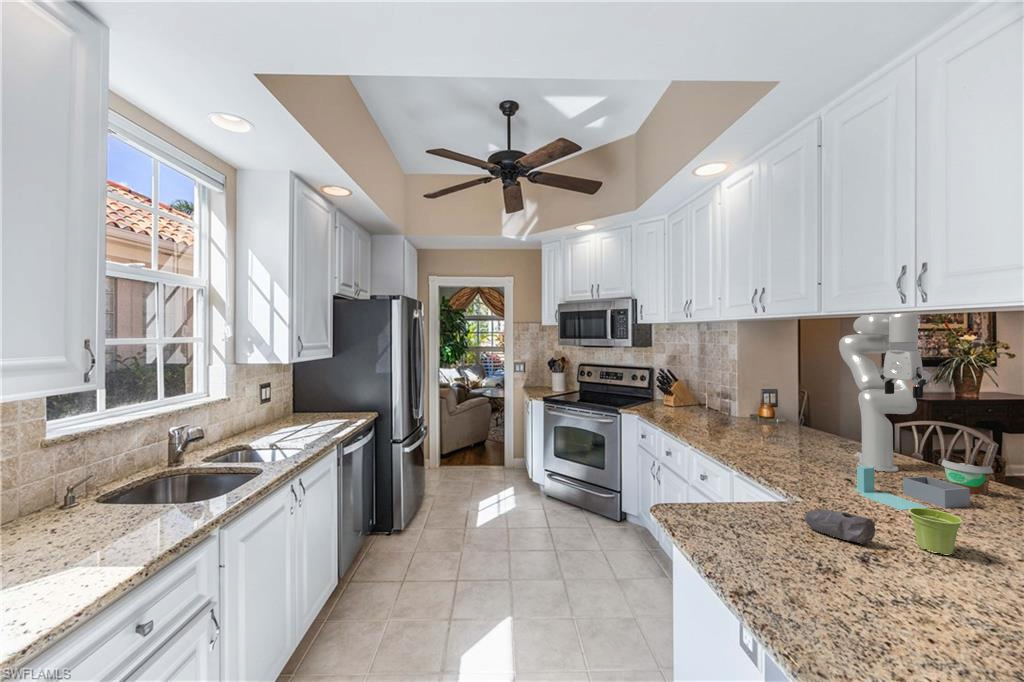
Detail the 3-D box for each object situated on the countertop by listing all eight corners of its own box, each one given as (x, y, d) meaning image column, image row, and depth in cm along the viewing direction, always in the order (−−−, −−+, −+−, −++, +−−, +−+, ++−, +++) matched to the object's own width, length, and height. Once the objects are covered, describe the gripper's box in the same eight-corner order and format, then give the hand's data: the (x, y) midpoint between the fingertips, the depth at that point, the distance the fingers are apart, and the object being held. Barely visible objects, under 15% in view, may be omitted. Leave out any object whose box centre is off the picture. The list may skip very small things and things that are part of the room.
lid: (847, 492, 145) (846, 466, 145) (872, 490, 146) (872, 464, 146) (900, 512, 128) (900, 483, 128) (928, 510, 129) (928, 481, 129)
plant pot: (922, 538, 111) (921, 505, 111) (971, 555, 102) (971, 519, 102) (900, 545, 107) (899, 510, 107) (949, 563, 98) (949, 525, 98)
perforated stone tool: (801, 530, 116) (800, 504, 116) (808, 525, 120) (808, 500, 120) (870, 551, 104) (870, 523, 104) (877, 545, 108) (876, 517, 108)
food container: (934, 488, 147) (934, 459, 147) (943, 485, 150) (942, 457, 150) (985, 500, 136) (985, 469, 136) (993, 497, 139) (993, 466, 139)
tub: (903, 495, 141) (902, 477, 141) (926, 494, 142) (925, 476, 142) (945, 510, 129) (944, 490, 129) (969, 507, 130) (969, 488, 130)
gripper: (870, 346, 158) (870, 392, 158) (920, 348, 141) (920, 400, 141) (888, 346, 159) (888, 392, 159) (940, 348, 142) (939, 399, 142)
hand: (903, 395), depth 150 cm, fingers open, 9 cm apart
